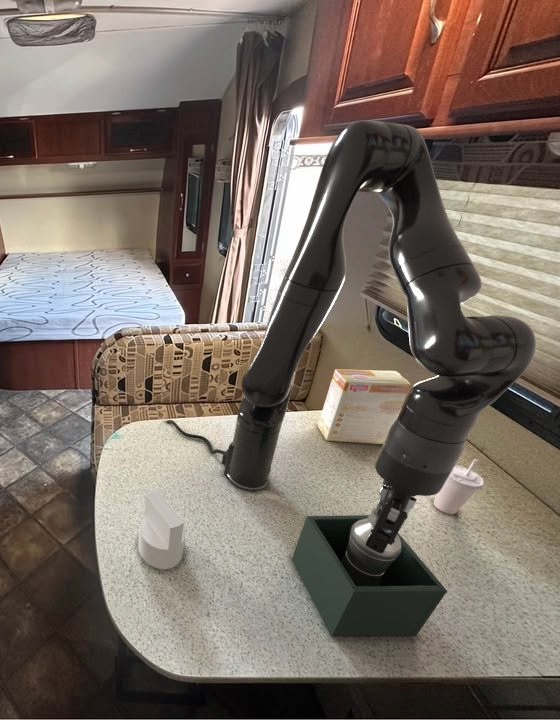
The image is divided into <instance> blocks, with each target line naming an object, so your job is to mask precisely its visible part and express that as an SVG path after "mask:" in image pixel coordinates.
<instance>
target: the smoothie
mask: <svg viewBox="0 0 560 720" xmlns="http://www.w3.org/2000/svg"><path fill="white" fill-rule="evenodd" d="M478 462H479V460H478V459H477V458H474V459H473V460H472V462H471V464H470V465H469V466H468V468H467V467H465V466H461V465H458V464H455V466H454V468H453V470H452V471H451V473H450V475H449V477H448V478H447V480H446V482H445V484H444V485H443V487H442V489H441V491H440V492H439V493H437V494H435V497H434V500H433V505H434V507H435V508H436V509H438V510H439V511H441V512H442V513H445V514H447V515H455V514H456V513H457V512H458V511H459V510H460V509H461V508H462V507H463V506H464V505H465V504H466V503H467V502H468V501H469V499H471V497H473V495H474V494H475V493H477V491H479V490H481V489H483V487H484V485H485V480H484V479H483V478H482V476H481V475H480V474H478V473H476V472H475V471H473V470H474V469H475V467H476V465H477V463H478Z"/></svg>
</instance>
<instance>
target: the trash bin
mask: <svg viewBox="0 0 560 720" xmlns="http://www.w3.org/2000/svg"><path fill="white" fill-rule="evenodd" d="M368 516H369V514H362V515H361V514H359V515H357V514H355V515H306V517H305V519H304V522H303V525H302V528H301V531H300V534H299V537H298V539H297V542H296V546H295V548H294V551H293V554H292V556H291V562H292V563H293V566H294V567H295V569H296V571H297V573H298V575H299V577H300V579H301V582H302V583H303V585H304V587H305V589H306V590H307V593H308V594H309V596H310V598H311V600H312V602H313V604H314V606H315V608H316V610H317V612H318V614H319V615H320V618H321V619H322V621H323V623H324V625H325V628H326V629H327V631H328V633H329V635H330V636H331V638H332V637H333V638H337V637H340V638H342V637H343V638H344V637H347V638H349V637H351V638H352V637H353V638H355V637H357V638H358V637H359V638H360V637H369V638H371V637H373V638H374V637H376V638H379V637H381V638H382V637H405V638H406V637H409V638H410V637H417V636H418V634H419V633H420V631H421V630H422V628H423V627H424V625H425V624H426V623H427V622H428V620H429V618H430V617H431V616H432V614H433V613H434V611H435V610H436V608H437V607H438V606H439V604H440V603H441V602H442V600H443V598H444V597H445V595H446V594H447V593H448V590H447V588H446V587H445V586H444V585H443V583H441V581H440V580H439V579H438V578H437V577H436V575H435V574H434V573H433V572H432V571H431V570H430V568H429V567H428V566H427V565H426V564H425V562H424V561H423V560H422V559H421V558H420V557H419V556H418V554H417V553H416V551H414V550H413V549H412V547H411V546H410V545H409V544H408V542H407V541H406V540H405V539H404V538H403V536H402V535H401V533H399V532H398V536H399V538H400V541H401V553H400V554H399V556H398V557H397V558H396V559H395V560H394V561H393V562H392V563H391V564H390V565H389V566H388V568H387V570H386V571H385V572H384V574H383V576H382V579H381V582H380V585H379V586H357V587H356V585H355V584H354V582H353V581H352V579H351V578H350V576H349V574H348V573H347V571H346V570H345V568H344V567H343V565H342V564H341V560H342V558H343V557H344V555H345V553H346V550H347V547H348V544H349V538H350V531H351V527H352V526H353V524H355V523H356V522H357V521H359V520H362V519H367V518H368Z"/></svg>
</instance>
